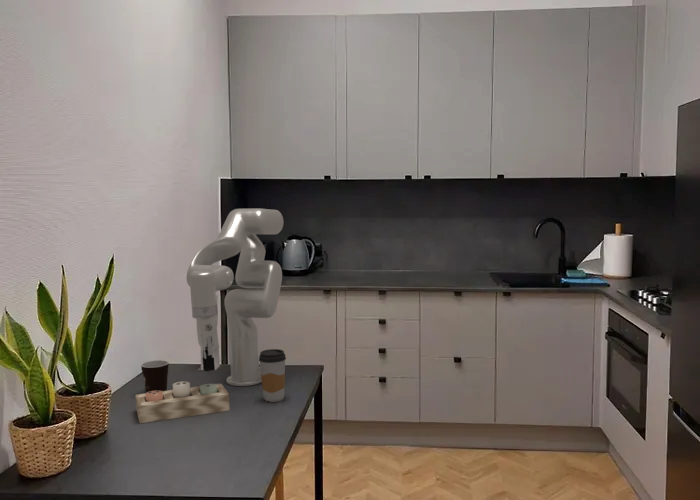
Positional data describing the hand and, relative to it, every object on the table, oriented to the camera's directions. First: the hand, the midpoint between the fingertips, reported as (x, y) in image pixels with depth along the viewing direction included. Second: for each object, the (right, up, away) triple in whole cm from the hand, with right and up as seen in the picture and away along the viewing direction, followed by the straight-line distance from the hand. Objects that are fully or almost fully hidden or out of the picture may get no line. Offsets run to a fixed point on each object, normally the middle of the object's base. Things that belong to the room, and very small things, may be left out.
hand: (209, 369), depth 224 cm
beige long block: (-7, -12, -2) cm, 14 cm away
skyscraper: (-8, -7, +44) cm, 45 cm away
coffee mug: (-20, -10, +16) cm, 28 cm away
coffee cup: (+19, -10, +6) cm, 23 cm away
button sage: (0, -10, 0) cm, 10 cm away
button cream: (-8, -9, -3) cm, 12 cm away
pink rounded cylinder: (-15, -11, -5) cm, 19 cm away
